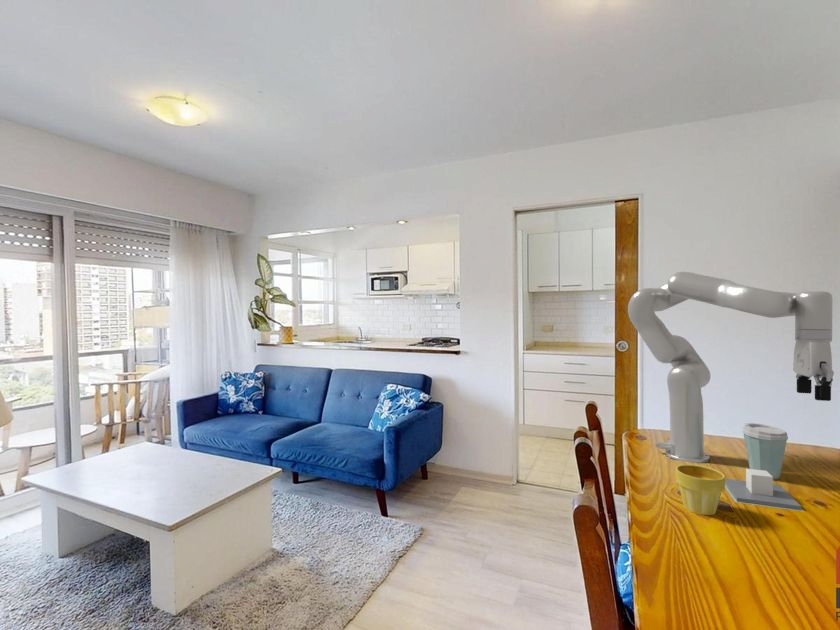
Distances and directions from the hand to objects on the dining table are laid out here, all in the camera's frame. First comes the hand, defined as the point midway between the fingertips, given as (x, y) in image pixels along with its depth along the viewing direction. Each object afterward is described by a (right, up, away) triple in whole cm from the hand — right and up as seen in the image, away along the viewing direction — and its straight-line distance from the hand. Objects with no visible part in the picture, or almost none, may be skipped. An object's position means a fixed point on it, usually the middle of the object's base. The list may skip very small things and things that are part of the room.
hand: (813, 396), depth 116 cm
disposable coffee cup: (-8, -26, +7) cm, 27 cm away
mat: (-19, -26, -5) cm, 33 cm away
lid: (-19, -25, -5) cm, 32 cm away
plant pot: (-40, -27, -12) cm, 49 cm away
